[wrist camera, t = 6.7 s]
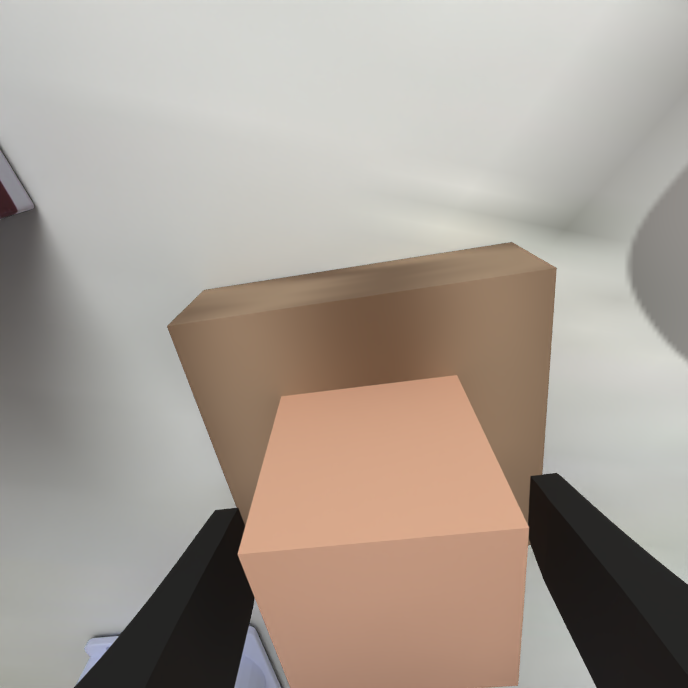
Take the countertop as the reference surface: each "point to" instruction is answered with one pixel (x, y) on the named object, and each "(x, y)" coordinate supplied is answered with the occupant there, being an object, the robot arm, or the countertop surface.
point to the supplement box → (11, 192)
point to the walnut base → (376, 349)
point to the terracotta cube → (387, 541)
